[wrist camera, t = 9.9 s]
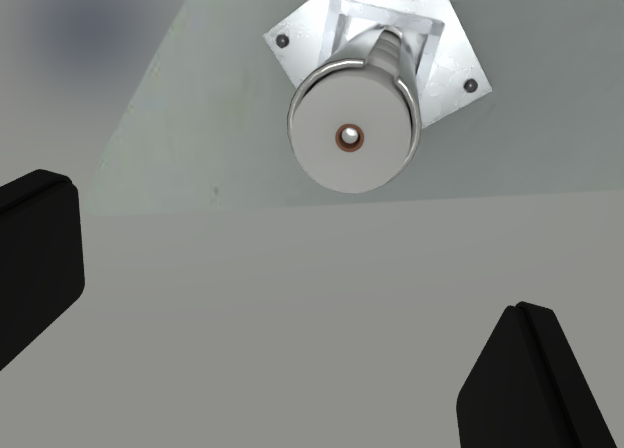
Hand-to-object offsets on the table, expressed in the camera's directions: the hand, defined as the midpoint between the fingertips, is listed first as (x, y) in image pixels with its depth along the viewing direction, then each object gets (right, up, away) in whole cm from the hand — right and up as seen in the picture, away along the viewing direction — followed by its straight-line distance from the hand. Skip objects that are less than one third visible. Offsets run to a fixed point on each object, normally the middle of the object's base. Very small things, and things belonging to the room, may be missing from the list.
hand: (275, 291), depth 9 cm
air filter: (+7, +17, +33) cm, 37 cm away
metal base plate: (+7, +17, +33) cm, 38 cm away
